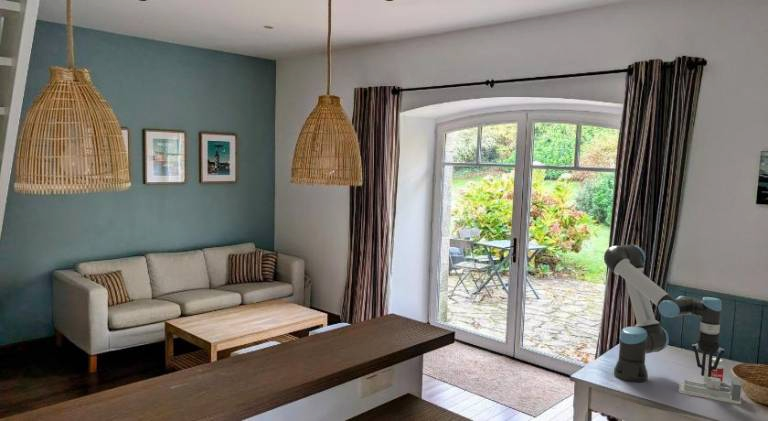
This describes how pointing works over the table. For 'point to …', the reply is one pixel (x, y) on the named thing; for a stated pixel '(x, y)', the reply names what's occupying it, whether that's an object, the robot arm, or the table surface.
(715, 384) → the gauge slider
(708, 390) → the base
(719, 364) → the pill bottle
